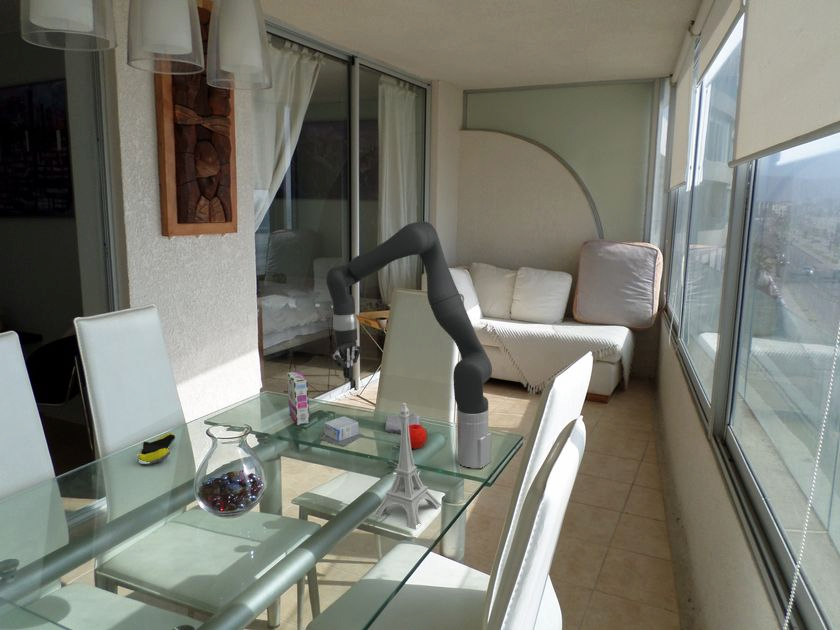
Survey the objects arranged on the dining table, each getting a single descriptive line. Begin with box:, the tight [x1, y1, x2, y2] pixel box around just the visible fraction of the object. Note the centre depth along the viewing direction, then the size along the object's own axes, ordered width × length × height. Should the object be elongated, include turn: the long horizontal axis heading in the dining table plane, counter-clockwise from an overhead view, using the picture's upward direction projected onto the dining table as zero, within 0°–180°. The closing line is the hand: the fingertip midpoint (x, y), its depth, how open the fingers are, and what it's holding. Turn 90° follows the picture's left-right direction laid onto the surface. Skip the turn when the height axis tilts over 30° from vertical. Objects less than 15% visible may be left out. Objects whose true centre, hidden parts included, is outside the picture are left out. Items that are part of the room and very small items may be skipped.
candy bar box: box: [286, 370, 311, 426], centre depth 231 cm, size 11×5×16 cm, turn 25°
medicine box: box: [323, 415, 360, 441], centre depth 218 cm, size 8×4×9 cm
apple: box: [409, 424, 428, 450], centre depth 208 cm, size 8×8×7 cm
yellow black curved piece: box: [135, 432, 176, 464], centre depth 205 cm, size 15×6×10 cm
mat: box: [320, 433, 364, 447], centre depth 217 cm, size 10×10×1 cm
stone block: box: [385, 413, 421, 434], centre depth 223 cm, size 12×5×10 cm
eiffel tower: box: [371, 402, 443, 530], centre depth 168 cm, size 13×13×30 cm
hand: (348, 377), depth 216 cm, fingers closed
